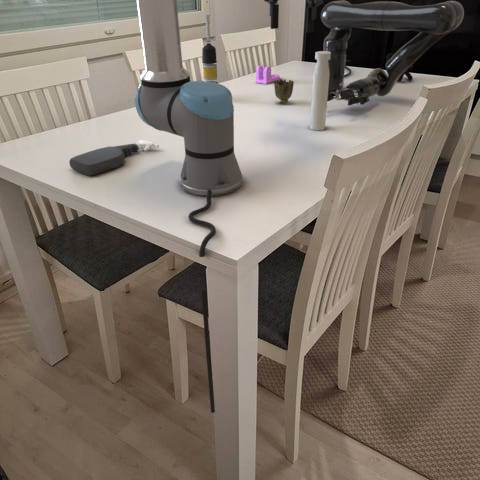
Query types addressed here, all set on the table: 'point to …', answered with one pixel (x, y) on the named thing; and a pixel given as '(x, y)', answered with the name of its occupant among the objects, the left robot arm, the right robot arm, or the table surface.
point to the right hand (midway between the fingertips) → (337, 100)
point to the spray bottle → (106, 157)
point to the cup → (283, 90)
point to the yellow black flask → (209, 57)
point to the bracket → (265, 75)
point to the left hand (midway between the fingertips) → (291, 30)
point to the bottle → (319, 95)
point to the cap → (322, 55)
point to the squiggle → (403, 72)
